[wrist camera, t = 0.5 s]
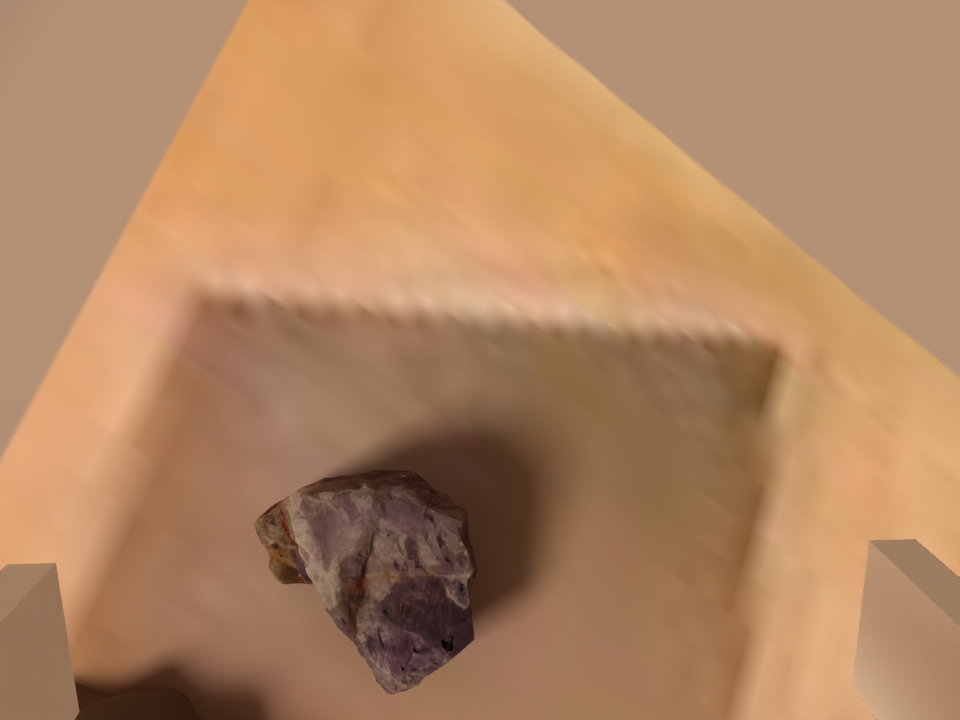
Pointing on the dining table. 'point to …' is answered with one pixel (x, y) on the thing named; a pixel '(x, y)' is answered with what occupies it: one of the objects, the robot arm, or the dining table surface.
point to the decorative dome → (134, 706)
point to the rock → (380, 567)
